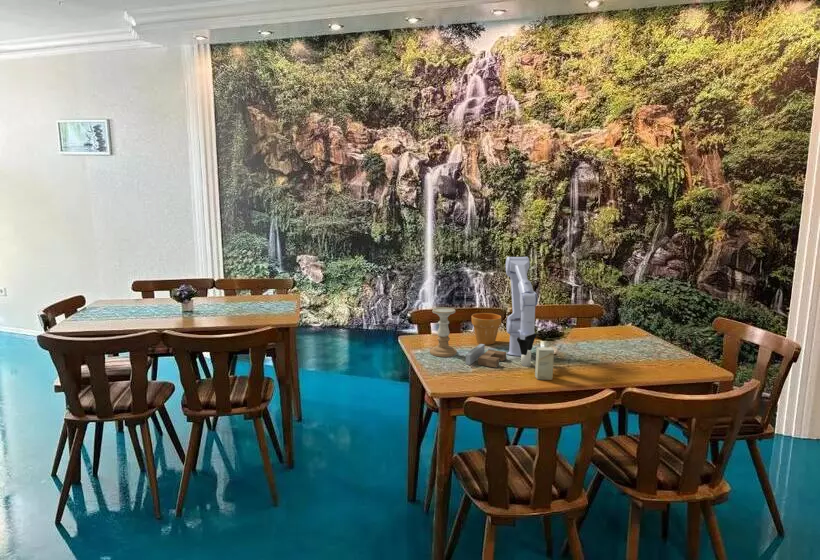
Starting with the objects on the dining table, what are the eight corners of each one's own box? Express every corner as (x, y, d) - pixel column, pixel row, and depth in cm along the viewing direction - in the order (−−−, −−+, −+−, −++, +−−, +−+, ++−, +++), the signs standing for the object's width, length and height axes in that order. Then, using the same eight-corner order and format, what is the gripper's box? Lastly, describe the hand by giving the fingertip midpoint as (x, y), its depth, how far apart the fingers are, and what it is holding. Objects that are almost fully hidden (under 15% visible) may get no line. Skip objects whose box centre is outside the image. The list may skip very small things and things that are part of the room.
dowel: (522, 362, 255) (523, 349, 254) (531, 364, 253) (532, 350, 252) (519, 365, 252) (520, 351, 250) (529, 366, 250) (529, 353, 249)
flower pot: (474, 337, 295) (474, 311, 293) (502, 339, 291) (503, 314, 289) (468, 344, 282) (468, 318, 280) (497, 347, 278) (498, 320, 275)
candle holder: (435, 358, 261) (435, 313, 257) (425, 350, 272) (426, 307, 269) (461, 355, 265) (462, 311, 261) (450, 348, 276) (451, 306, 273)
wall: (480, 353, 268) (480, 343, 268) (484, 353, 267) (484, 344, 267) (465, 364, 252) (465, 354, 252) (469, 365, 252) (470, 354, 251)
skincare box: (537, 379, 234) (538, 350, 232) (534, 376, 238) (535, 346, 236) (553, 379, 234) (554, 350, 232) (550, 376, 238) (551, 346, 236)
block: (488, 356, 264) (489, 349, 263) (506, 358, 260) (506, 352, 260) (477, 364, 252) (478, 357, 251) (495, 367, 248) (496, 360, 248)
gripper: (523, 316, 257) (522, 346, 260) (513, 323, 244) (512, 355, 247) (539, 318, 254) (538, 348, 256) (530, 325, 241) (528, 357, 244)
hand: (526, 352), depth 251 cm, fingers open, 7 cm apart
